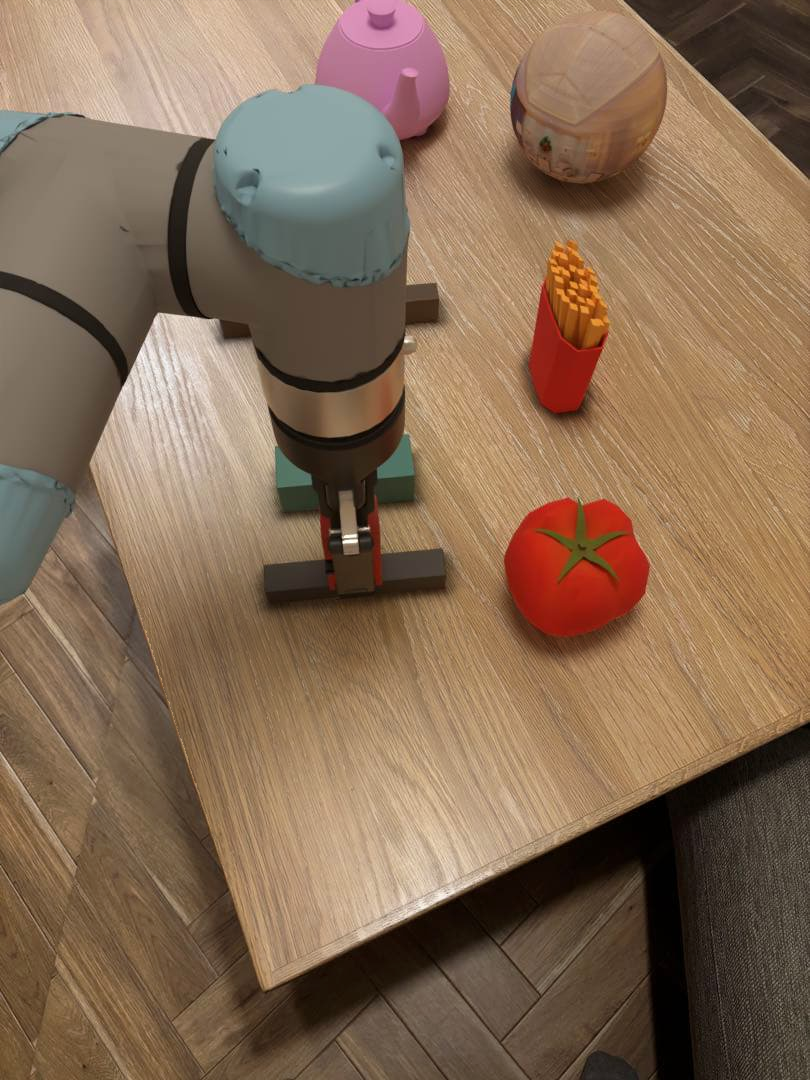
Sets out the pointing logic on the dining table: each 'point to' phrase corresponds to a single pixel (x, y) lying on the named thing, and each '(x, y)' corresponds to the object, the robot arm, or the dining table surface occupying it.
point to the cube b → (396, 475)
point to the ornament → (588, 96)
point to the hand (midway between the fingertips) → (354, 571)
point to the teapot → (388, 63)
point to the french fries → (567, 331)
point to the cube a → (294, 486)
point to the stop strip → (418, 309)
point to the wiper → (387, 570)
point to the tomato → (575, 566)
